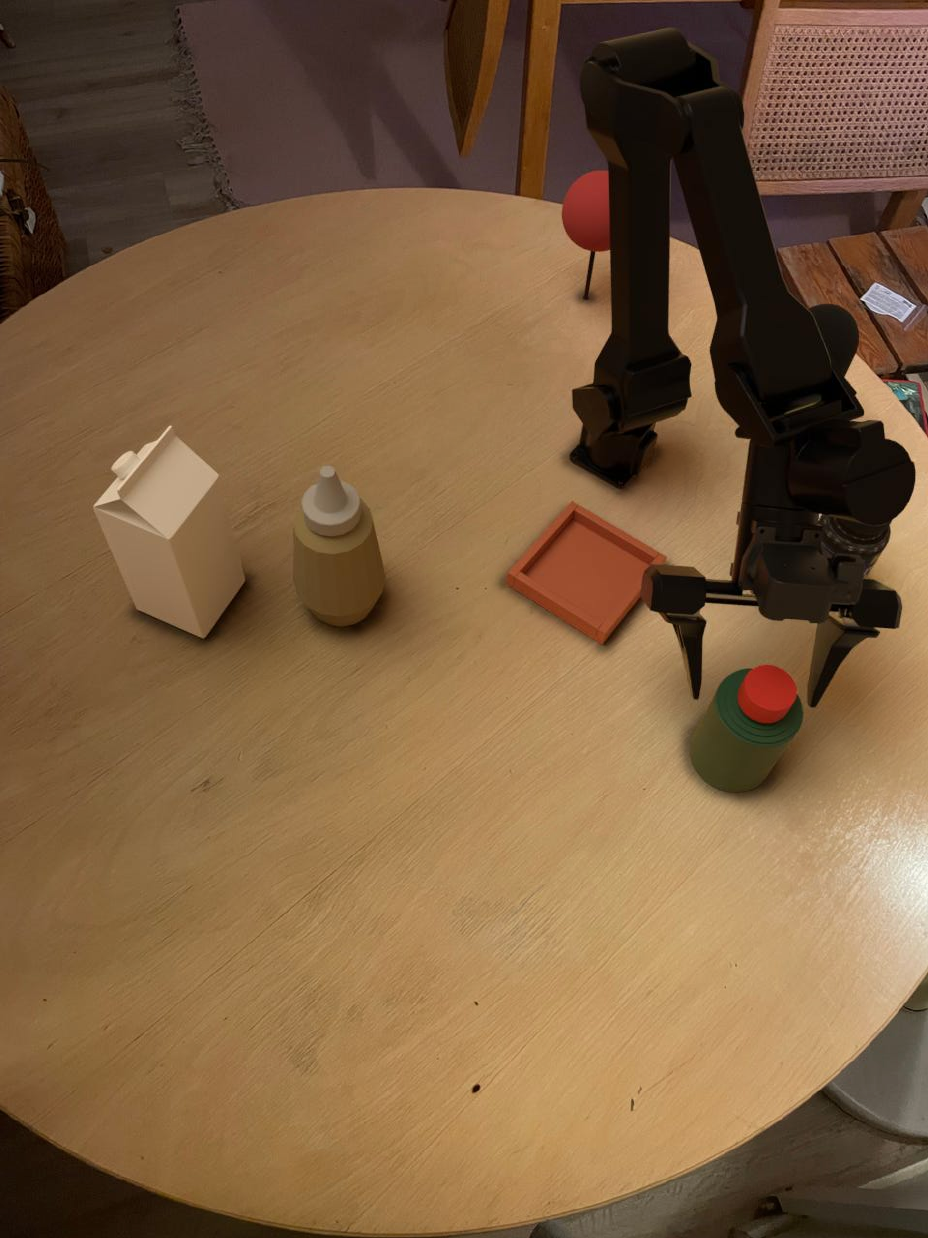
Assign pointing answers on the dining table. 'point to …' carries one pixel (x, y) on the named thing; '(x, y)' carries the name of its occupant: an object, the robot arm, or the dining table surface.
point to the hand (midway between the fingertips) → (753, 702)
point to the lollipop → (588, 216)
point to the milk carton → (172, 534)
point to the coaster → (584, 571)
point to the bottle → (739, 740)
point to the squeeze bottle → (336, 552)
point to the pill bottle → (854, 539)
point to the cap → (767, 693)
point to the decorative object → (836, 337)
